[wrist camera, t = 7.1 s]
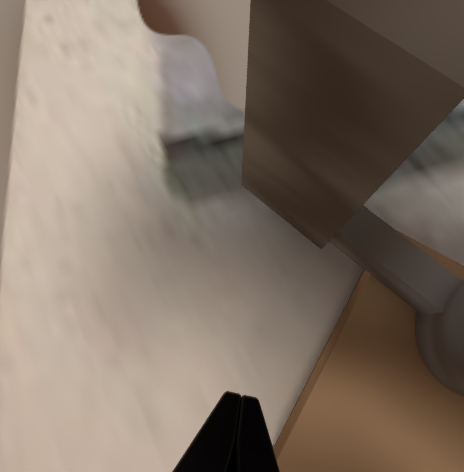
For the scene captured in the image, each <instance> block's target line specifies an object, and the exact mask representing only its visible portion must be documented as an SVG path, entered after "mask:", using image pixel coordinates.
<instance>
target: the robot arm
mask: <svg viewBox="0 0 464 472" xmlns="http://www.w3.org/2000/svg"><path fill="white" fill-rule="evenodd" d="M173 472H280V470H279V467H278V463H277V460H276V457H275V453H274V450H273V446H272V443H271V440H270V436H269V433H268V430H267V426H266V423H265V420H264V416H263V413H262V409H261V406H260V403H259V400H258V399H257V398H256V397H252V396H247V395H243V396H242V397H241V395H240V394H238V393H234V392H229V391H226V392H225V393H224V394H223V396H222V397H221V399H220V400H219V402H218V403H217V405H216V406H215V408H214V409H213V411H212V412H211V414H210V415H209V417H208V418H207V420H206V421H205V423H204V424H203V426H202V427H201V429H200V430H199V432H198V434H197V435H196V437H195V438H194V440H193V441H192V443H191V444H190V446H189V447H188V449H187V450H186V452H185V453H184V455H183V456H182V458H181V459H180V461H179V462H178V464H177V465H176V467H175V469H174V470H173Z"/></svg>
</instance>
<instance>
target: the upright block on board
mask: <svg viewBox="0 0 464 472" xmlns="http://www.w3.org/2000/svg"><path fill="white" fill-rule="evenodd" d="M463 99H464V0H251V4H250V24H249V47H248V68H247V86H246V107H245V126H244V147H243V167H242V185H243V186H244V187H245V188H246V189H248V190H249V191H250V192H251V193H253V194H254V195H255V196H256V197H258V198H259V199H260V200H261V201H263V202H264V203H265V204H266V205H267V206H269V207H270V208H271V209H272V210H274V211H275V212H276V213H277V214H279V215H280V216H281V217H282V218H284V219H285V220H286V221H287V222H289V223H290V224H291V225H292V226H293V227H295V228H296V229H297V230H298V231H300V232H301V233H302V234H303V235H305V236H306V237H307V238H308V239H310V240H311V241H312V242H313V243H315V244H316V245H317V246H318V247H319V248H322V247H323V246H324V245H325V244H326V243H327V242H328V241H330V242H331V243H332V244H333V245H335V246H336V247H337V248H338V249H340V250H341V251H342V252H344V253H345V254H346V255H347V256H349V257H350V258H351V259H352V260H354V261H355V262H356V263H357V264H359V265H360V266H361V267H362V268H364V269H365V270H366V271H367V272H369V273H370V274H371V275H372V276H374V277H375V278H376V279H377V280H379V281H380V282H381V283H382V284H384V285H385V286H386V287H387V288H389V289H390V290H391V291H392V292H394V293H395V294H396V295H397V296H399V297H400V298H401V299H402V300H404V301H405V302H406V303H407V304H409V305H410V306H411V307H412V308H414V309H415V310H416V311H417V312H419V313H418V317H417V321H416V339H417V344H418V348H419V351H420V354H421V356H422V358H423V360H424V362H425V364H426V366H427V367H428V369H429V370H430V371H431V373H432V374H433V375H434V376H435V377H436V378H437V379H438V380H439V381H440V382H441V383H442V384H443V385H444V386H446V387H447V388H448V389H450V390H452V391H453V392H455V393H457V394H459V395H461V396H464V280H461V279H459V278H458V277H457V276H455V275H454V274H453V273H452V272H450V271H449V270H448V269H446V268H445V267H444V266H442V265H441V264H440V263H438V262H437V261H436V260H434V259H433V258H432V257H430V256H429V255H428V254H426V253H425V252H424V251H422V250H421V249H420V248H418V247H417V246H416V245H414V244H413V243H412V242H411V241H409V240H408V239H407V238H405V237H404V236H403V235H401V234H400V233H399V232H397V231H396V230H395V229H393V228H392V227H391V226H389V225H388V224H387V223H385V222H384V221H383V220H381V219H380V218H379V217H377V216H376V215H375V214H373V213H372V212H371V211H370V210H368V209H367V208H366V207H364V206H363V204H364V203H365V202H366V201H367V200H368V199H369V198H370V197H371V196H372V195H373V193H374V192H375V191H376V190H377V189H378V188H379V187H380V186H381V185H382V184H383V183H384V182H385V181H386V180H387V179H388V178H389V177H390V176H391V175H392V173H393V172H394V171H395V170H396V169H397V168H398V167H399V166H400V165H401V164H402V163H403V162H404V161H405V160H406V159H407V158H408V157H409V156H410V155H411V153H412V152H413V151H414V150H415V149H416V148H417V147H418V146H419V145H420V144H421V143H422V142H423V141H424V140H425V139H426V138H427V137H428V136H429V135H430V133H431V132H432V131H433V130H434V129H435V128H436V127H437V126H438V125H439V124H440V123H441V122H442V121H443V120H444V119H445V118H446V117H447V116H448V115H449V113H450V112H451V111H452V110H453V109H454V108H455V107H456V106H457V105H458V104H459V103H460V102H461V101H462V100H463Z"/></svg>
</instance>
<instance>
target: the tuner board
mask: <svg viewBox="0 0 464 472" xmlns="http://www.w3.org/2000/svg"><path fill="white" fill-rule="evenodd" d="M397 232H398V231H397ZM399 233H400V232H399ZM400 234H401V235H403V236H404V237H405V238H407V239H408V240H409V241H411V242H412V243H413V244H414V245H416V246H417V247H418V248H420V249H421V250H422V251H424V252H425V253H426V254H428V255H429V256H430V257H432V258H433V259H434V260H436V261H437V262H438V263H440V264H441V265H442V266H444V267H445V268H446V269H448V270H449V271H450V272H452V273H453V274H454V275H455V276H457V277H458V278H459V279H461V280H464V266H462V265H460V264H458V263H456V262H454V261H452V260H451V259H449V258H447V257H445V256H443V255H441V254H439V253H438V252H436V251H434V250H432V249H430V248H428V247H426V246H424V245H423V244H421V243H419V242H417V241H415V240H413V239H411V238H409V237H408V236H406V235H404V234H402V233H400ZM418 313H419V312H417V311H416V310H415V309H414V308H412V307H411V306H410V305H409V304H407V303H406V302H405V301H404V300H402V299H401V298H400V297H399V296H397V295H396V294H395V293H394V292H392V291H391V290H390V289H389V288H387V287H386V286H385V285H384V284H382V283H381V282H380V281H379V280H377V279H376V278H375V277H374V276H372V275H371V274H370V273H369V272H367V271H366V270H364V272H363V274H362V276H361V278H360V280H359V282H358V284H357V286H356V288H355V290H354V292H353V294H352V296H351V297H350V299H349V301H348V303H347V305H346V307H345V309H344V311H343V313H342V315H341V317H340V319H339V321H338V323H337V325H336V327H335V329H334V331H333V333H332V335H331V337H330V339H329V341H328V343H327V345H326V347H325V348H324V350H323V352H322V354H321V356H320V358H319V360H318V362H317V364H316V366H315V368H314V370H313V372H312V374H311V376H310V378H309V380H308V382H307V384H306V386H305V388H304V390H303V392H302V394H301V396H300V398H299V399H298V401H297V403H296V405H295V407H294V409H293V411H292V413H291V415H290V417H289V419H288V421H287V423H286V425H285V427H284V429H283V431H282V433H281V435H280V437H279V439H278V441H277V443H276V445H275V447H274V449H273V450H274V453H275V457H276V460H277V463H278V467H279V470H280V472H464V396H461V395H459V394H457V393H455V392H453V391H452V390H450V389H448V388H447V387H446V386H444V385H443V384H442V383H441V382H440V381H439V380H438V379H437V378H436V377H435V376H434V375H433V374H432V373H431V371H430V370H429V369H428V367H427V366H426V364H425V362H424V360H423V358H422V356H421V354H420V351H419V348H418V344H417V339H416V321H417V317H418Z"/></svg>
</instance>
